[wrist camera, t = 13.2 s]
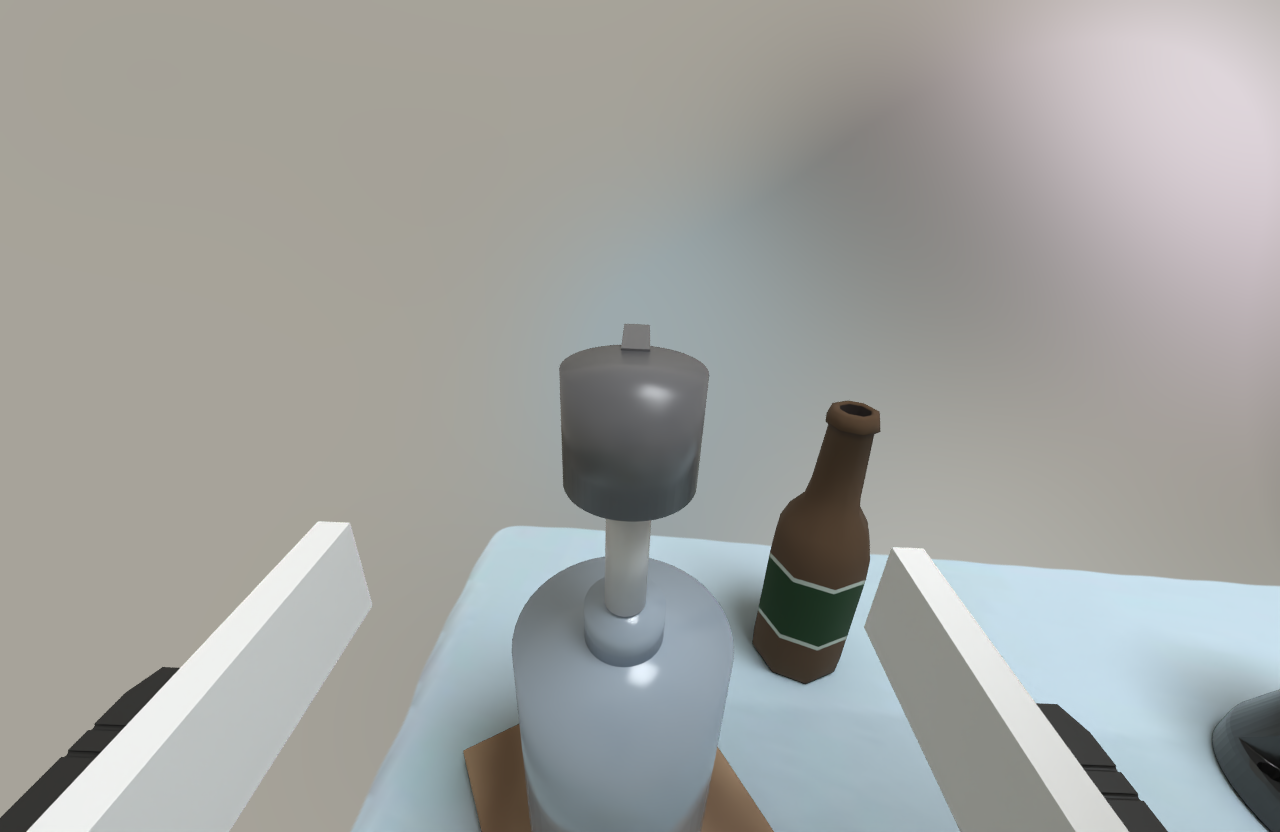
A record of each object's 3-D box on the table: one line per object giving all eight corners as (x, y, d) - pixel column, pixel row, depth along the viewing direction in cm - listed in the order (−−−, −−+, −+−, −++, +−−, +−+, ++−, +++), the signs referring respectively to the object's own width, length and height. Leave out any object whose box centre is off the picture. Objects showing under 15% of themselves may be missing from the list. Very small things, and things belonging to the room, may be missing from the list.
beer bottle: (733, 645, 45) (777, 405, 34) (777, 599, 50) (828, 378, 39) (812, 705, 40) (893, 448, 29) (853, 648, 45) (934, 411, 34)
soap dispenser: (647, 695, 39) (661, 509, 31) (737, 845, 30) (789, 644, 22) (508, 766, 34) (482, 567, 26) (570, 970, 25) (559, 768, 17)
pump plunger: (634, 520, 29) (643, 321, 24) (715, 616, 23) (751, 378, 18) (534, 552, 27) (520, 335, 21) (597, 670, 21) (598, 408, 15)
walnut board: (657, 666, 42) (658, 657, 42) (793, 876, 30) (797, 866, 30) (465, 760, 35) (463, 750, 35) (541, 1087, 23) (539, 1080, 22)
